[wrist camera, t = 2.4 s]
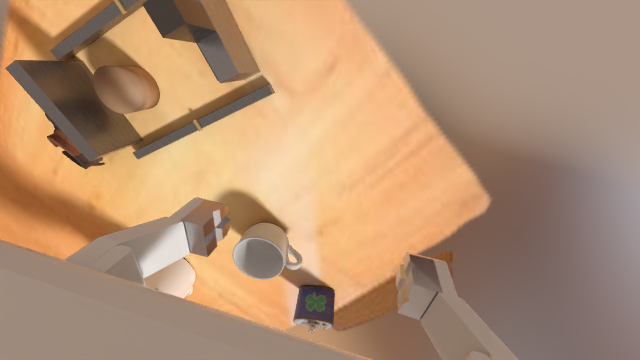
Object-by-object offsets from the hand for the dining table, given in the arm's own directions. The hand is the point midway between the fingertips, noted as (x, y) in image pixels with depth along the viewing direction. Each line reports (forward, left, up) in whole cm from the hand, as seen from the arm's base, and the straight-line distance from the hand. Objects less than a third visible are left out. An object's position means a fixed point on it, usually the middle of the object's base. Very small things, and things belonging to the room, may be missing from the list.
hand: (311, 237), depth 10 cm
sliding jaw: (-10, +17, -32) cm, 38 cm away
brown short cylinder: (-30, +17, -32) cm, 48 cm away
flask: (-21, -40, -33) cm, 56 cm away
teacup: (-23, -21, -33) cm, 45 cm away
